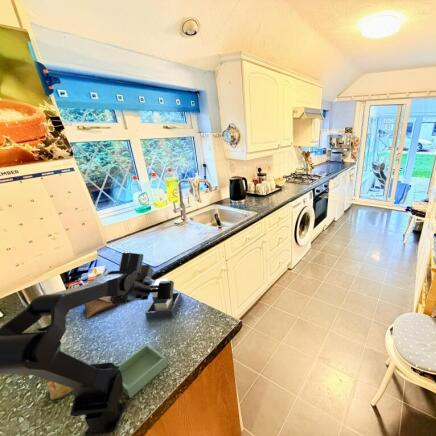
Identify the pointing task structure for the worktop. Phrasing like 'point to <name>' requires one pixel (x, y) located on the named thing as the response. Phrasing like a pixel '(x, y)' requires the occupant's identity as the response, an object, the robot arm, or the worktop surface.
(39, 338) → the robot arm
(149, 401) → the worktop surface
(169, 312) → the tray
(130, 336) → the worktop surface
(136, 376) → the front tote
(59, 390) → the pastry
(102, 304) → the sunglasses case
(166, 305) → the package
